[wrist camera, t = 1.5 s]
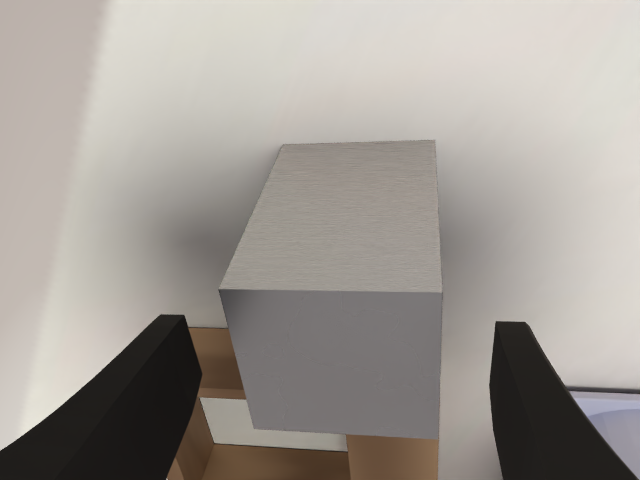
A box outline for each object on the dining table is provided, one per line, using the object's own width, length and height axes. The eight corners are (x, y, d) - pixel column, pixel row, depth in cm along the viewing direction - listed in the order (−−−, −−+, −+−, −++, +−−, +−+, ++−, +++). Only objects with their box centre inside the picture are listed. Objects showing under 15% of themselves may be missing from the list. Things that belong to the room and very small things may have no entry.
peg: (434, 139, 17) (442, 292, 11) (433, 264, 20) (438, 439, 14) (282, 144, 18) (218, 289, 12) (300, 263, 20) (254, 428, 15)
